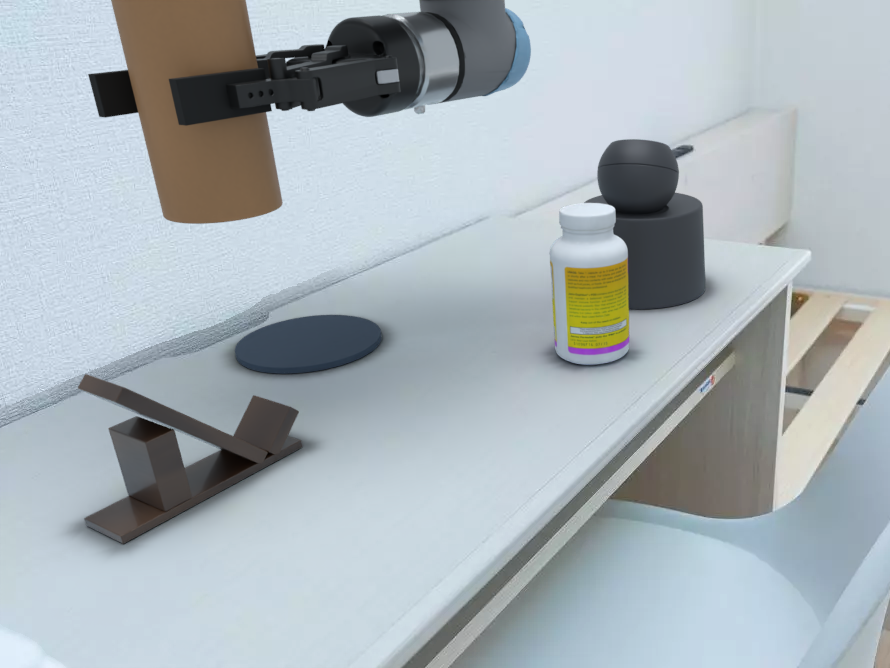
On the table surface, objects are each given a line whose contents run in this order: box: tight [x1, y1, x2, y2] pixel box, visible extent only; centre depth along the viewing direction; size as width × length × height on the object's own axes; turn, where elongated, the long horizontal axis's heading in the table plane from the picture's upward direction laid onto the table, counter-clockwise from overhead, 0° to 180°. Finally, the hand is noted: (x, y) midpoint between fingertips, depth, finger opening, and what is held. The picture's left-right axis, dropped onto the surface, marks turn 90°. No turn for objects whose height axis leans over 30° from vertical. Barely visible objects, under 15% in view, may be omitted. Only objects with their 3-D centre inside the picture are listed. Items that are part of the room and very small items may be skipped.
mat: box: [234, 314, 383, 375], centre depth 83 cm, size 13×13×1 cm
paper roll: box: [110, 0, 283, 225], centre depth 61 cm, size 8×16×16 cm
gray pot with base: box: [583, 138, 707, 310], centre depth 92 cm, size 13×16×14 cm
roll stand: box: [77, 373, 303, 545], centre depth 59 cm, size 4×14×9 cm, turn 148°
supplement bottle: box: [549, 202, 630, 366], centre depth 77 cm, size 7×7×13 cm
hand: (136, 99), depth 57 cm, fingers closed on paper roll, 8 cm apart
